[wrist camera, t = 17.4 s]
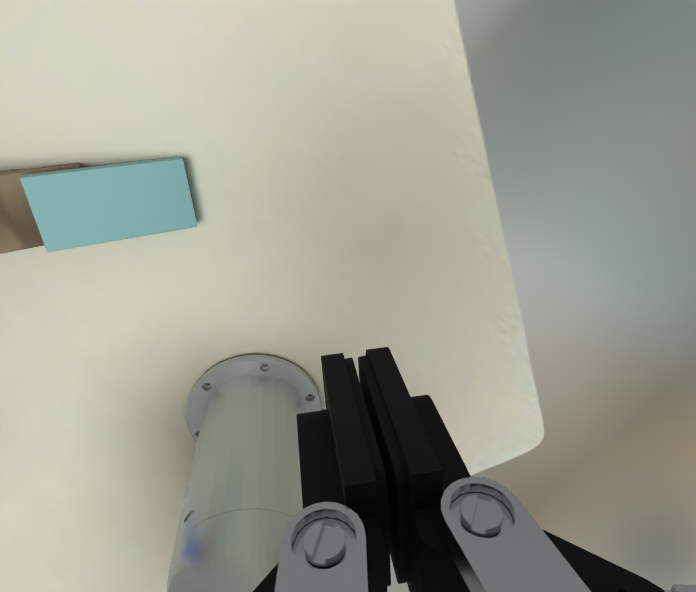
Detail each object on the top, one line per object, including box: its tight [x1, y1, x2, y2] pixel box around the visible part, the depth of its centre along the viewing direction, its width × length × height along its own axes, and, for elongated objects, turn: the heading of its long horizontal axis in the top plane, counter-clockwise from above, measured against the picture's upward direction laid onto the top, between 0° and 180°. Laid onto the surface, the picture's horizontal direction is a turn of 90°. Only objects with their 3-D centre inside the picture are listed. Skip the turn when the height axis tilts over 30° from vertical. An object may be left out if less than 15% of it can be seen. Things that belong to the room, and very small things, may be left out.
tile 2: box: [0, 163, 80, 254], centre depth 31 cm, size 5×2×10 cm
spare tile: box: [20, 156, 197, 252], centre depth 32 cm, size 5×2×10 cm
